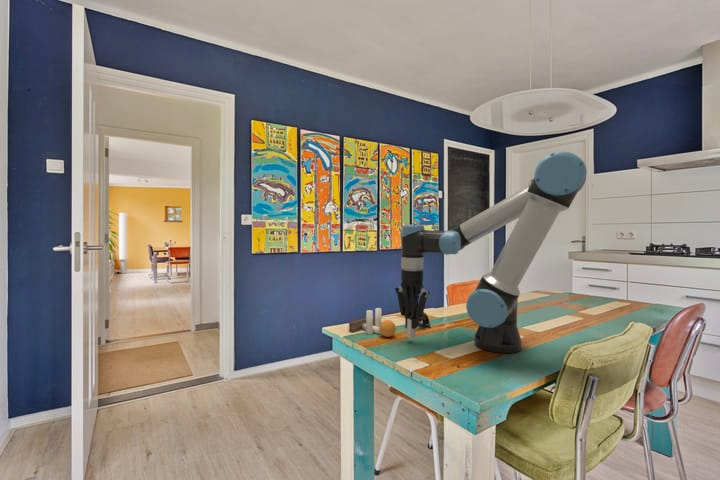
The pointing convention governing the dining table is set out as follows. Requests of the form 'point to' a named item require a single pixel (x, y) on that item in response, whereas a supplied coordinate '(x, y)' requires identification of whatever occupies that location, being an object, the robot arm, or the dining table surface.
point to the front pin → (375, 329)
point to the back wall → (358, 325)
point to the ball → (387, 328)
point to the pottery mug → (423, 319)
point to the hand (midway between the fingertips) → (411, 336)
